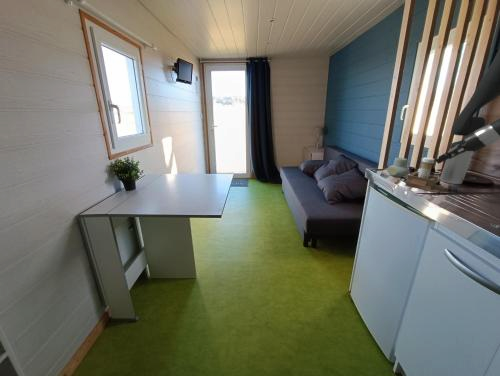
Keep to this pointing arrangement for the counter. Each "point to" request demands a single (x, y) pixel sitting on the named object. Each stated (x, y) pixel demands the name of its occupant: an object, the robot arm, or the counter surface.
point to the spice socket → (423, 183)
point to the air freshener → (398, 168)
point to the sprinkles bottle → (426, 167)
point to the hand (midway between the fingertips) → (438, 160)
